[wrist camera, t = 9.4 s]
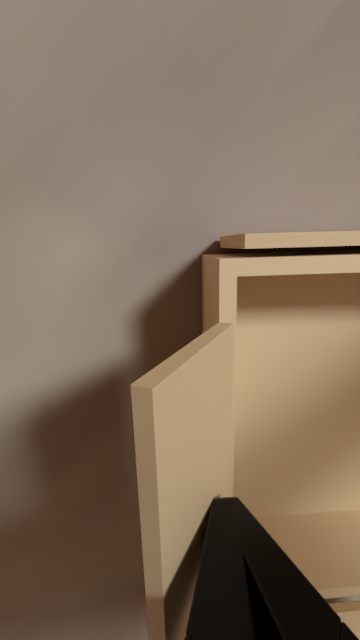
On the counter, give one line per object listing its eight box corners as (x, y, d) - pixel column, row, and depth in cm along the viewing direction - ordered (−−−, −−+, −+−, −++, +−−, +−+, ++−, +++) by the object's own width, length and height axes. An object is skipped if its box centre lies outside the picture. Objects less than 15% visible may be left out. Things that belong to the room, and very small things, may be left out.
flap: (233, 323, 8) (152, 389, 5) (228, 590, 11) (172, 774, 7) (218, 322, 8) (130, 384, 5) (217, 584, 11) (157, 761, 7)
